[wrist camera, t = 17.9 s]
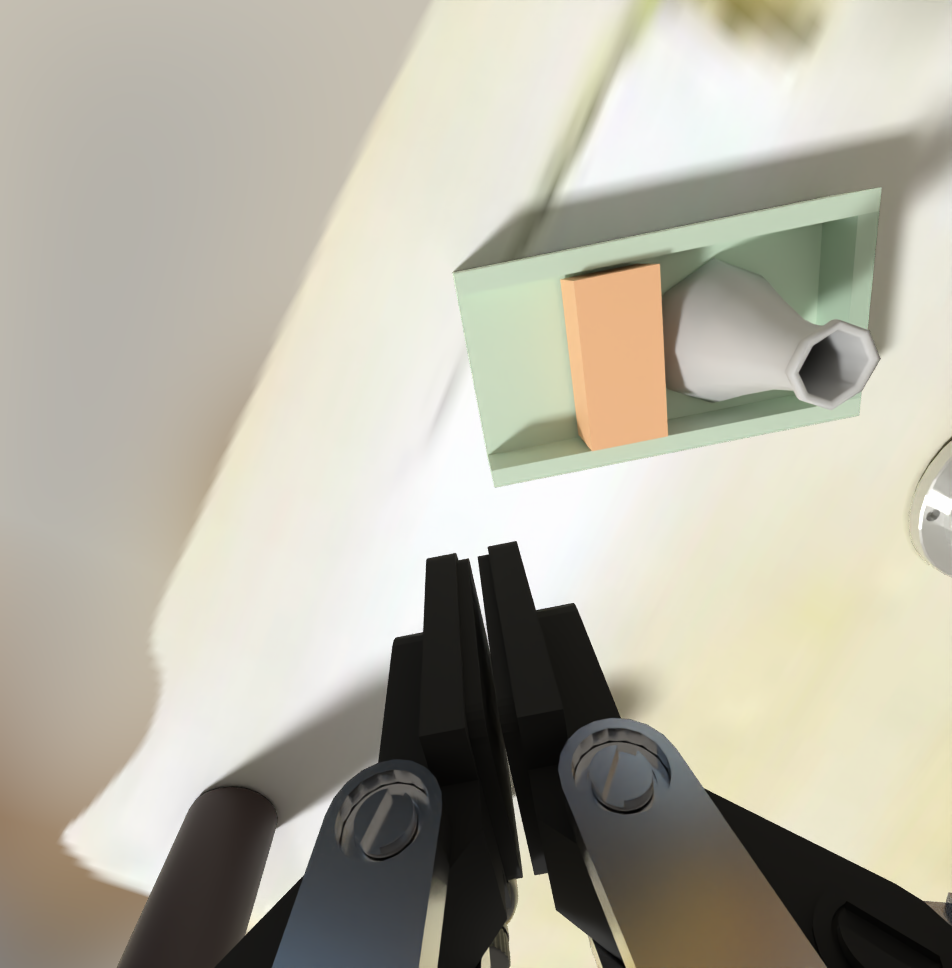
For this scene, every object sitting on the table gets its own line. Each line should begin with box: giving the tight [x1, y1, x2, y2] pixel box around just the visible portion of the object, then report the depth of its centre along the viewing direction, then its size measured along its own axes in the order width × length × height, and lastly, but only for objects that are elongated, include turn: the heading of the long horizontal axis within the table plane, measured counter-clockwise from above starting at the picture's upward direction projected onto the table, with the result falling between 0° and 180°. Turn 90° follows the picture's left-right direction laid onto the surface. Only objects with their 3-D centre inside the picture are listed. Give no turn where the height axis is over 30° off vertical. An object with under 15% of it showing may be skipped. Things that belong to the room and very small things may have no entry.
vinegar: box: [117, 787, 277, 968], centre depth 33 cm, size 7×7×20 cm
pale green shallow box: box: [453, 187, 882, 488], centre depth 28 cm, size 20×11×4 cm, turn 100°
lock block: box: [560, 264, 668, 451], centre depth 27 cm, size 4×8×3 cm, turn 11°
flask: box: [662, 258, 880, 410], centre depth 24 cm, size 7×7×10 cm
